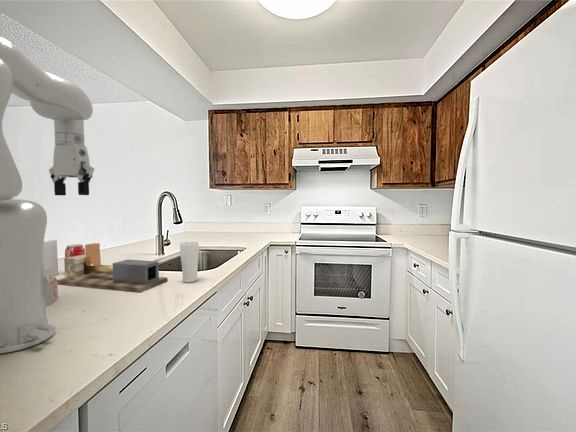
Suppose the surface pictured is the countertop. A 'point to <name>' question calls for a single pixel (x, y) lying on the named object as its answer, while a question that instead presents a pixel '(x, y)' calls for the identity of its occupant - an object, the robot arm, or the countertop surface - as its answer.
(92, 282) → the walnut base board
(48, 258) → the supplement box
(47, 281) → the white angular box
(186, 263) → the drinking glass
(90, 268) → the brass tube
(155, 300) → the countertop surface
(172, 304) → the countertop surface
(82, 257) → the ash socket block
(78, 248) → the soda can
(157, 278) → the galvanized steel sleeve
